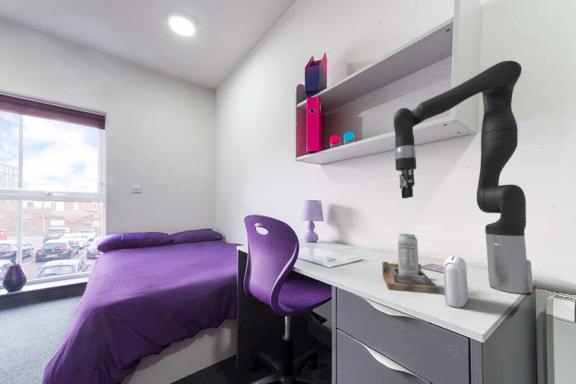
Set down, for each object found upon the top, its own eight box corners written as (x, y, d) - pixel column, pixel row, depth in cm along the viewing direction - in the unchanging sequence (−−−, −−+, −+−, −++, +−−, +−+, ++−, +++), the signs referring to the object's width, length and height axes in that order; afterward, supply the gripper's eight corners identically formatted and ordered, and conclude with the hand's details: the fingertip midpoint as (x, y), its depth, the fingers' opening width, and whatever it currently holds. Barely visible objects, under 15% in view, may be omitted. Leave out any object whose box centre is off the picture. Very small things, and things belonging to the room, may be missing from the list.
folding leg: (383, 277, 84) (382, 262, 85) (382, 275, 86) (381, 261, 87) (421, 279, 82) (420, 264, 82) (419, 277, 84) (418, 263, 84)
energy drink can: (421, 279, 76) (419, 234, 77) (415, 283, 72) (413, 235, 73) (403, 275, 80) (401, 232, 81) (395, 279, 76) (394, 234, 77)
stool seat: (425, 281, 80) (425, 268, 80) (438, 294, 68) (438, 279, 68) (383, 278, 84) (382, 265, 84) (388, 290, 72) (387, 275, 72)
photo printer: (451, 294, 68) (449, 252, 69) (470, 298, 65) (467, 254, 65) (443, 305, 60) (440, 258, 61) (463, 310, 57) (460, 260, 58)
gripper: (392, 162, 100) (394, 198, 99) (398, 155, 87) (400, 197, 86) (411, 161, 98) (413, 198, 97) (420, 153, 85) (422, 196, 83)
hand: (407, 197), depth 91 cm, fingers open, 8 cm apart
